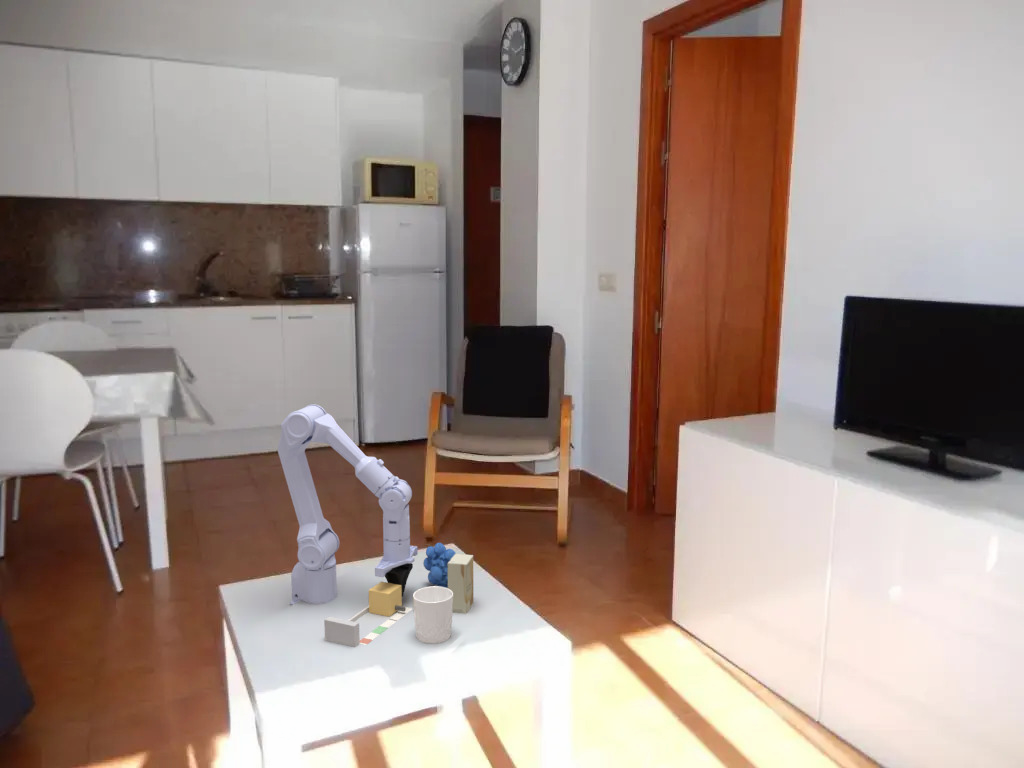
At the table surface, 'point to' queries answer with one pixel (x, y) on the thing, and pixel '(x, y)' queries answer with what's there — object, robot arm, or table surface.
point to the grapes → (438, 564)
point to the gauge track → (355, 628)
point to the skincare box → (461, 582)
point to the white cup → (433, 613)
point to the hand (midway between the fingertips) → (397, 596)
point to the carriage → (385, 599)
